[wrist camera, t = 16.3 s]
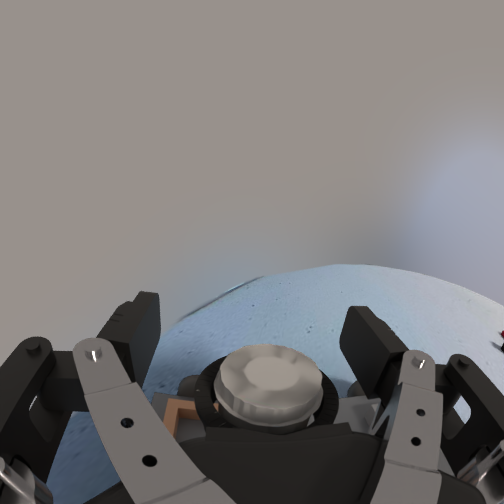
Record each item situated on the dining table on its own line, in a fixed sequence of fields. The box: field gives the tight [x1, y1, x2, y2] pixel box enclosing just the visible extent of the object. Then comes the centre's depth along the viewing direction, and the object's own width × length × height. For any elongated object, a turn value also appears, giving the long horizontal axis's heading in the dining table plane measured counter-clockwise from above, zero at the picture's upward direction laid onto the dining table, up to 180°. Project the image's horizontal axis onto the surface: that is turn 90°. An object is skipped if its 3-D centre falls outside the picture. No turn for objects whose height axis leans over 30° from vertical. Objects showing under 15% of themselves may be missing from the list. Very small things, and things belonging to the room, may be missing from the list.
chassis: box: [151, 375, 455, 477], centre depth 13 cm, size 22×17×4 cm
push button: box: [194, 344, 339, 435], centre depth 11 cm, size 7×5×10 cm
